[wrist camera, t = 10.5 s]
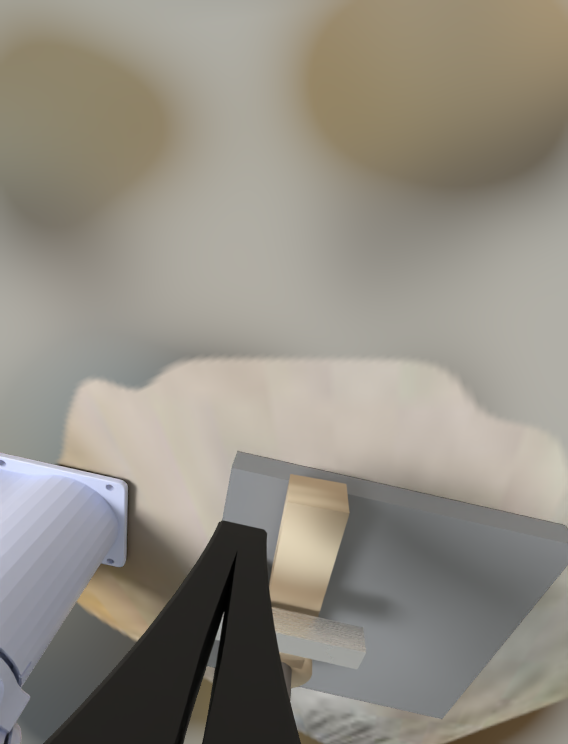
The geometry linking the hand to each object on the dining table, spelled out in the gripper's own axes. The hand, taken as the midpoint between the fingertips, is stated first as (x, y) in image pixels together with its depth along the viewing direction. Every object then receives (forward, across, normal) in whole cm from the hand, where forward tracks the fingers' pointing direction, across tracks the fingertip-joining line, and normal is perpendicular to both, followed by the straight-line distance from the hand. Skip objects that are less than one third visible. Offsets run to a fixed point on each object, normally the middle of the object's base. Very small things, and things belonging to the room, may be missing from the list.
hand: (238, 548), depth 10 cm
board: (+9, -8, +14) cm, 19 cm away
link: (+8, -4, +11) cm, 14 cm away
